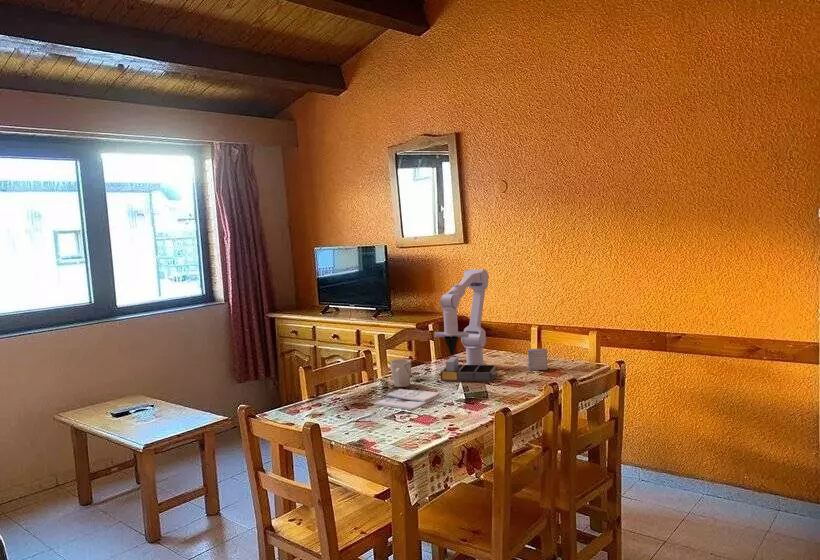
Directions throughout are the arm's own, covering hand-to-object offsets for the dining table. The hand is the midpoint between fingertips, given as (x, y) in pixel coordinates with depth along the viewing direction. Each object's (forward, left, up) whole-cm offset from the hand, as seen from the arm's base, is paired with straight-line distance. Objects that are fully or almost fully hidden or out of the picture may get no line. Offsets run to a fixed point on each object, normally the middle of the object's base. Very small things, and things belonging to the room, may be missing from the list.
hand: (452, 354), depth 259 cm
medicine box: (-16, +34, -10) cm, 39 cm away
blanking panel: (+1, 0, -9) cm, 9 cm away
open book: (+35, -10, -11) cm, 38 cm away
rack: (0, +7, -10) cm, 12 cm away
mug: (+16, -18, -10) cm, 26 cm away
